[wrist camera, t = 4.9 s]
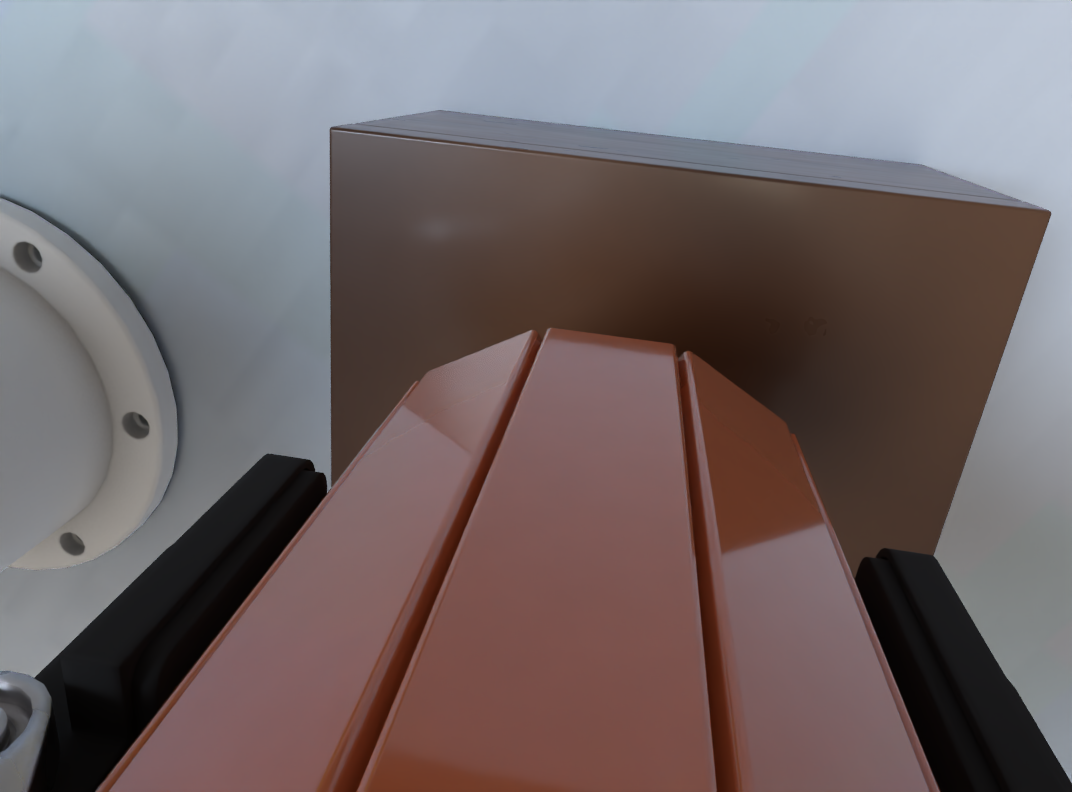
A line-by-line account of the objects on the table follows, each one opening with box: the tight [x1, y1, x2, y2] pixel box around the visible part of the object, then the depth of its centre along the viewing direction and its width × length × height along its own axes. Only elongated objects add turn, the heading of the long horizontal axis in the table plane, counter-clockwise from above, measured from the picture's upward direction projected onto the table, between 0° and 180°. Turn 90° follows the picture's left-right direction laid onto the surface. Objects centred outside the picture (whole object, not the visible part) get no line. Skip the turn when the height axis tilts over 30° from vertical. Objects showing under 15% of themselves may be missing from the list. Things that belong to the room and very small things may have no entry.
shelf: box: [330, 110, 1051, 579], centre depth 18 cm, size 12×10×7 cm
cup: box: [95, 328, 941, 792], centre depth 8 cm, size 7×7×8 cm
